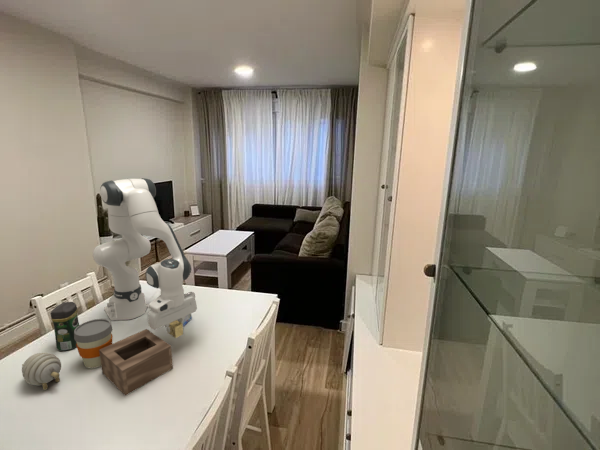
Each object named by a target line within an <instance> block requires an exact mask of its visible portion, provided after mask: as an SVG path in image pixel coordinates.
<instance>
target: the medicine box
mask: <svg viewBox="0 0 600 450" xmlns="http://www.w3.org/2000/svg"><path fill="white" fill-rule="evenodd" d="M192 318H193V316H192V313H191V314H189V315H187V316H185V319H184V321H183V328H184V327H185V326H186V325H187V324H188V322H190V321H191V320H192ZM179 320H180V319H178V320H177V321H179Z"/></svg>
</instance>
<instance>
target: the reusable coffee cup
mask: <svg viewBox="0 0 600 450" xmlns="http://www.w3.org/2000/svg"><path fill="white" fill-rule="evenodd" d="M112 332H113V326H112V322H111V320H110V319H107V318H97V319H95V318H94V319H92V320H88V321H85V322H82V323H80V324H79V326H78V327H76V329H75V330H74V339H75V341H76V342H77V344H76V349H77V352H78V354H79V357H81V359H82V362H83V365H84V367H85V368H87V369H96V368H101V360H100V353H99V350H100V349H102V348H104V347H107V346H109V345H111V344H113V334H112Z"/></svg>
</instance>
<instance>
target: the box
mask: <svg viewBox="0 0 600 450" xmlns="http://www.w3.org/2000/svg"><path fill="white" fill-rule="evenodd" d="M99 353H100V360H101V366H100V368H101V371H102V374H103V375H104V376H105V377H106V379H108V380H109V381H110V382H111V383H112V385H114V386H115V387H116V388H117V389H118V390H119V391H120V392H121V393H122V394H123V396H128V395H129V394H131V393H132V392H134V391H136V390H139V388H141V387H143V386H145V385H147V384H148V383H150V382H152V381H153V380H155V379H157V378H158V377H161V376H162V375H164V374H165V373H167V372H169V371H170V370H172V369H174V365H173V352H172V345H171V344H170V343H168V342H166V341H165V340H164V339H162V338H160V337H159V336H157V335H156V334H155V333H153V332H152V331H150V330H149V329H147V328H146V329H143V330H141V331H138V332H136V333H134V334H132V335H130V336H128V337H125V338H122V339H120V340H118V341H116V342H114V343H113V342H112V344H111V345H109V346H107V347H104V348H102V349H100V350H99Z"/></svg>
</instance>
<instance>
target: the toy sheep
mask: <svg viewBox="0 0 600 450" xmlns="http://www.w3.org/2000/svg"><path fill="white" fill-rule="evenodd" d="M61 370H62V362H61V360H60V358H59V357H58V356H57V355H56V354H54V353H51V352H37V353H34V354H31V355H30V356H29V357H28V358H27V359H26V360H25V361H24V362H23V364H21V373H22V377H23V379H24V380H25V381H26V383H27V384H29V385H32V386H37V387H38V386H39V387H40V386H42V389H43V391H46V390H48V388H49V387H48V383H50V382H51V381H53V380H54V381H55V383H59V382H60V381H61V380H60V372H61Z"/></svg>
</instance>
